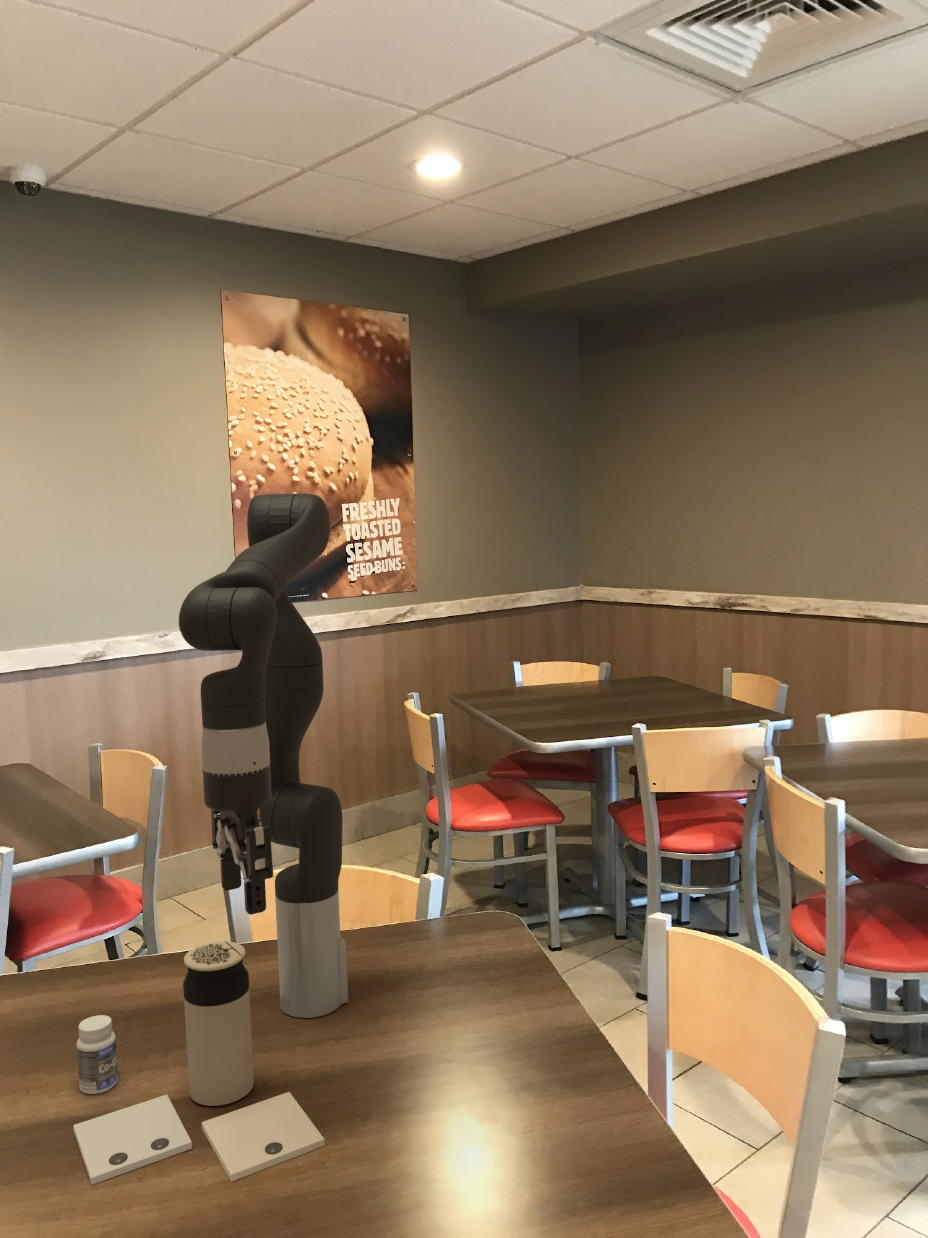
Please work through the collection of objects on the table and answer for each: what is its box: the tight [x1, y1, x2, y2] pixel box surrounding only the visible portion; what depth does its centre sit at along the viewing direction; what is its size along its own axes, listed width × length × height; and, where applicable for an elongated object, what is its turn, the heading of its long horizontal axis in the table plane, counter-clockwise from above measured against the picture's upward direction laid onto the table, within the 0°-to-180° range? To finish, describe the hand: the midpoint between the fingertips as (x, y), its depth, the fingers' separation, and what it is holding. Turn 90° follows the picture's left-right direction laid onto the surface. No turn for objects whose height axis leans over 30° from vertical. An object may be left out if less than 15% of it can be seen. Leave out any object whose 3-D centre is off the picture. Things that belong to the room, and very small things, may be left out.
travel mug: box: [182, 940, 255, 1107], centre depth 121 cm, size 8×8×18 cm
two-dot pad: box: [72, 1094, 193, 1186], centre depth 112 cm, size 11×11×1 cm
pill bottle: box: [76, 1014, 119, 1095], centre depth 123 cm, size 5×5×8 cm
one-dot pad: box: [201, 1091, 325, 1183], centre depth 112 cm, size 11×11×1 cm
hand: (243, 900), depth 111 cm, fingers open, 8 cm apart
